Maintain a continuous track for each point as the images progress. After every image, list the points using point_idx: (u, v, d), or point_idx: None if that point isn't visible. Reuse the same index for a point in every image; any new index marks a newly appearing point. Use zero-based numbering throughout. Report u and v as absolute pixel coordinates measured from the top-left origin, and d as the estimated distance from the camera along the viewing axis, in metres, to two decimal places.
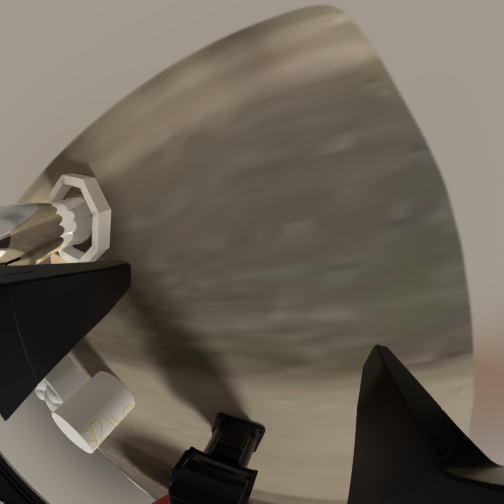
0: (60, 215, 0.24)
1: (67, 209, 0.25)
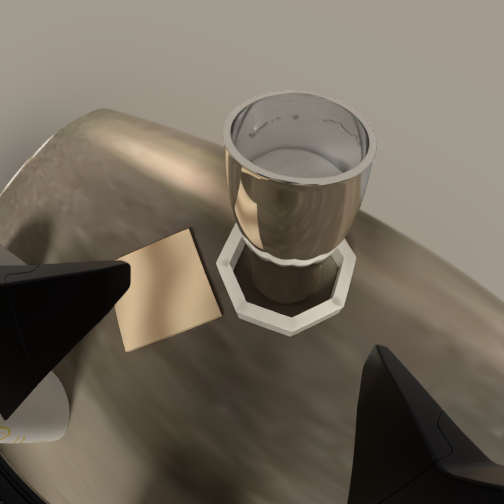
0: None
1: None
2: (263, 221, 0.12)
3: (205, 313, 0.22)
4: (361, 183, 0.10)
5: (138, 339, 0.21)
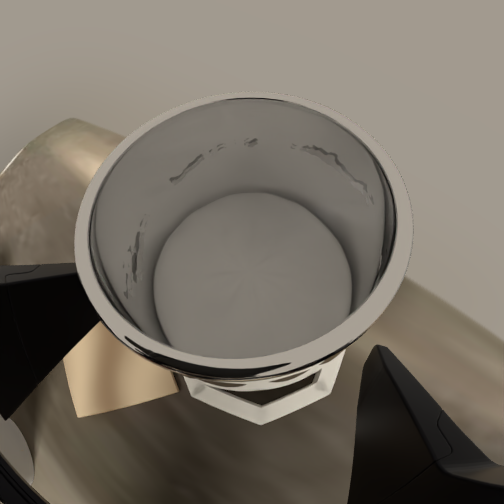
0: None
1: None
2: None
3: (159, 387, 0.16)
4: None
5: (89, 407, 0.15)
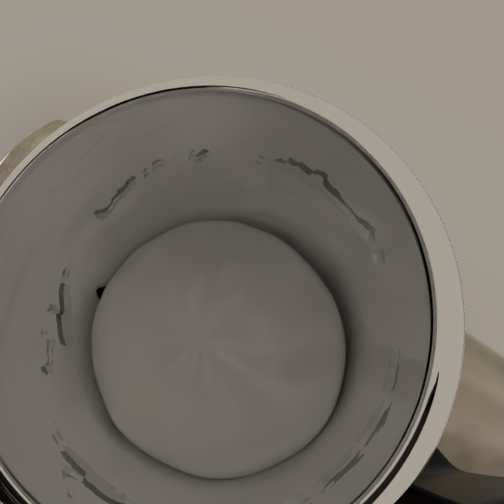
0: None
1: None
2: None
3: None
4: None
5: None
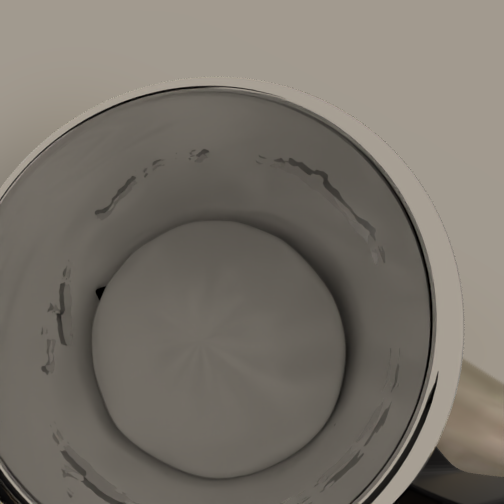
0: None
1: None
2: None
3: None
4: None
5: None
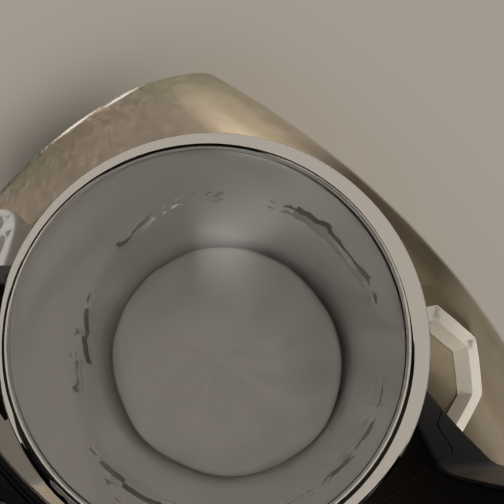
0: None
1: None
2: None
3: None
4: None
5: None
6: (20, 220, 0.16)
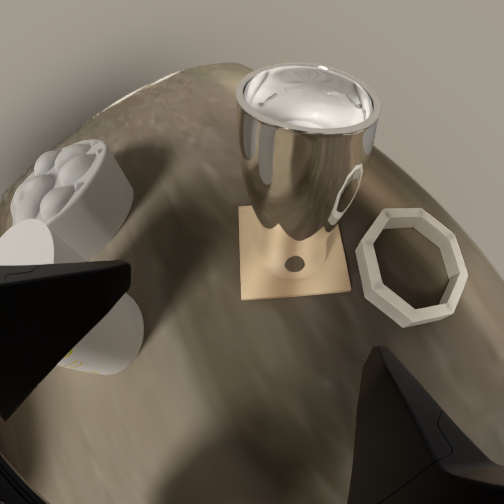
0: None
1: None
2: (273, 176, 0.12)
3: (336, 283, 0.22)
4: (367, 140, 0.10)
5: (259, 290, 0.22)
6: None
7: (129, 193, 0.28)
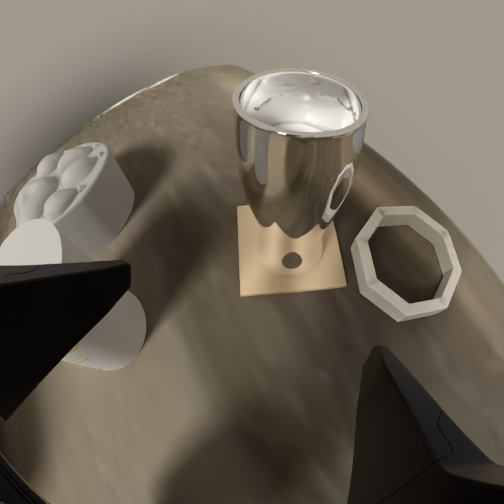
0: None
1: None
2: (268, 177, 0.13)
3: (332, 279, 0.23)
4: (356, 141, 0.11)
5: (258, 286, 0.23)
6: None
7: (130, 195, 0.28)
